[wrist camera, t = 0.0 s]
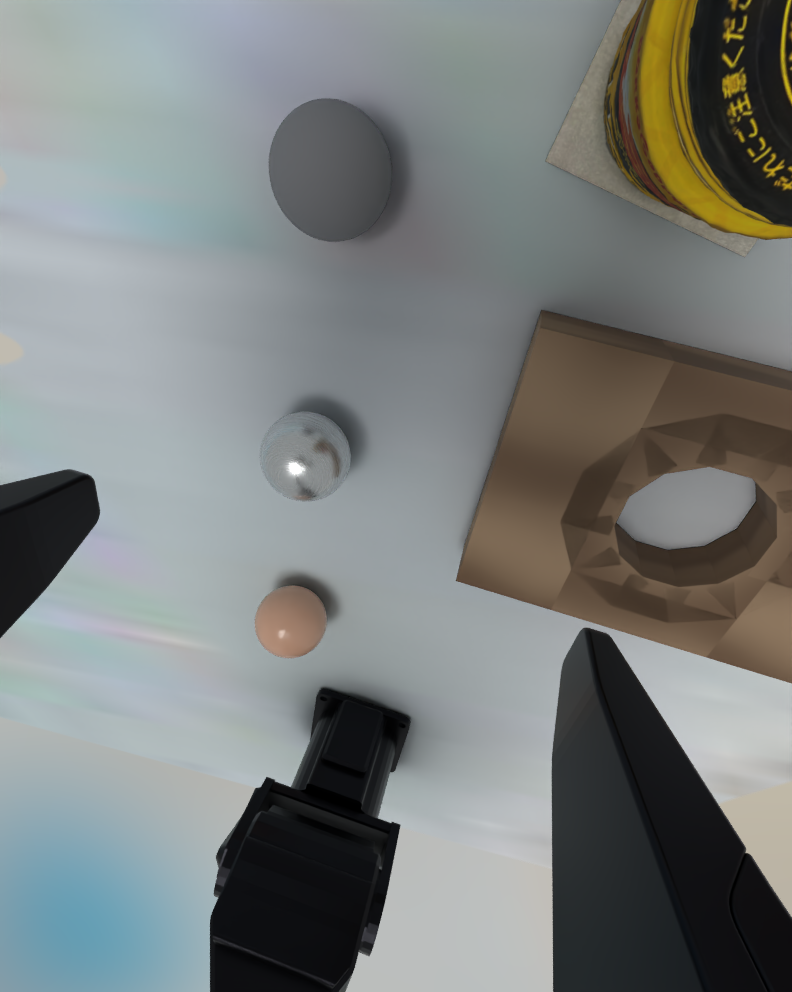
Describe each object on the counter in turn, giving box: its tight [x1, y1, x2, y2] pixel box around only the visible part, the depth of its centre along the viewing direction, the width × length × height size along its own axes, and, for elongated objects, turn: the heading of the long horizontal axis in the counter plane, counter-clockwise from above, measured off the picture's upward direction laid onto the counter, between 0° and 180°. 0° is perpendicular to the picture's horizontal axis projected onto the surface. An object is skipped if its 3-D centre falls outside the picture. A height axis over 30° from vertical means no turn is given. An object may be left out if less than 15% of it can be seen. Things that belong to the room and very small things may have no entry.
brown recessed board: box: [456, 310, 792, 683], centre depth 22 cm, size 12×16×2 cm
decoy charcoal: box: [269, 99, 392, 242], centre depth 17 cm, size 4×4×4 cm
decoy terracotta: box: [255, 586, 327, 658], centre depth 30 cm, size 4×4×4 cm
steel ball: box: [260, 412, 351, 501], centre depth 24 cm, size 4×4×4 cm
